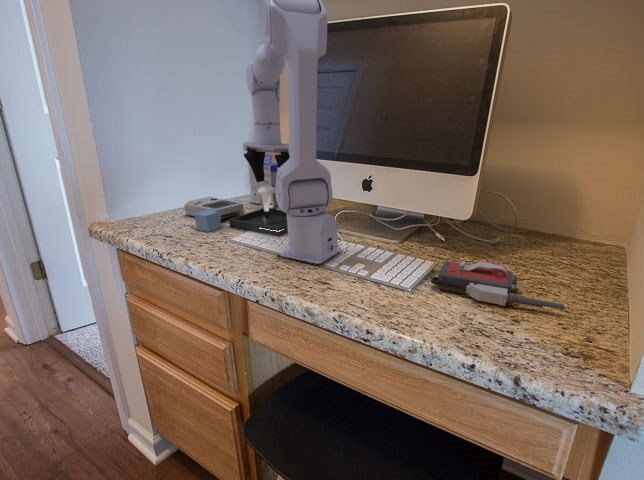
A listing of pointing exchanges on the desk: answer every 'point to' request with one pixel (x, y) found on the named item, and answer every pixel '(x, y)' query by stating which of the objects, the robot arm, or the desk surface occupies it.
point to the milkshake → (268, 204)
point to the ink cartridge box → (269, 178)
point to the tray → (260, 222)
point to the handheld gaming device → (214, 207)
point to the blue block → (207, 220)
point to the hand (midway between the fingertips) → (272, 182)
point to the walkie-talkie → (484, 283)
